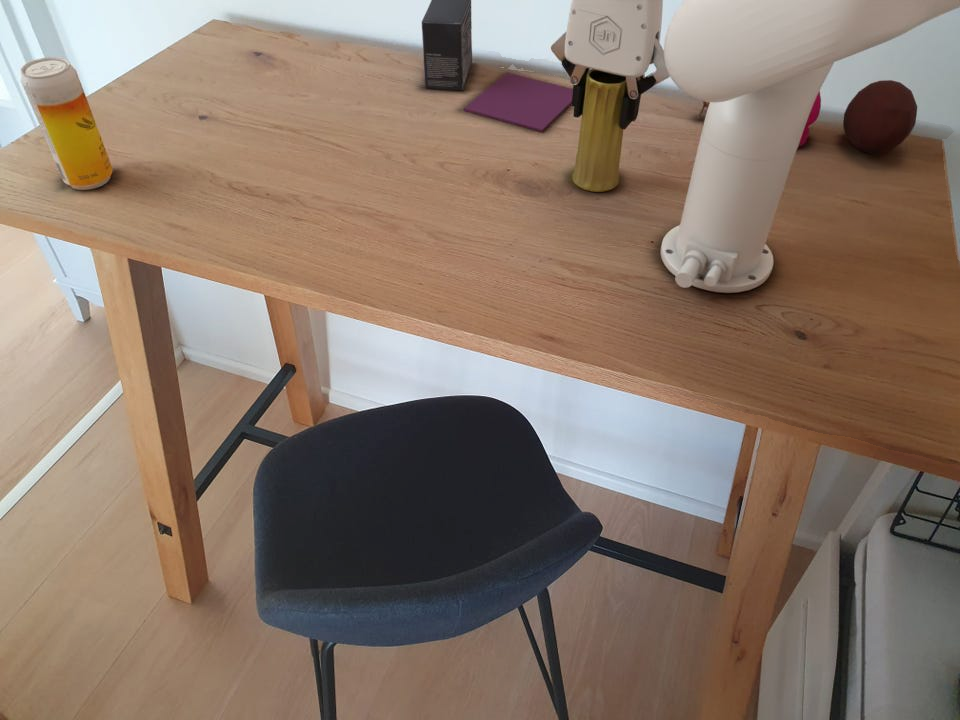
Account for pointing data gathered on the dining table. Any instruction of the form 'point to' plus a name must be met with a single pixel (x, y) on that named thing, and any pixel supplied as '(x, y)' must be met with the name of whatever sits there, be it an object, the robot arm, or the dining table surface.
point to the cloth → (522, 102)
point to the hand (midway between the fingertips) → (603, 117)
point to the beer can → (66, 122)
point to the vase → (600, 132)
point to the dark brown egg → (880, 116)
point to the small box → (447, 44)
